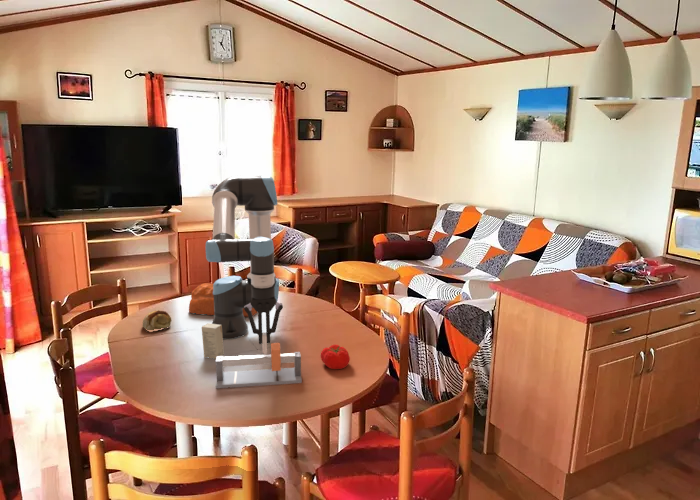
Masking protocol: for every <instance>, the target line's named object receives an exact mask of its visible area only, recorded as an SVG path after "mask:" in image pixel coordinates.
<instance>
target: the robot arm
mask: <svg viewBox="0 0 700 500" xmlns="http://www.w3.org/2000/svg"><path fill="white" fill-rule="evenodd" d="M211 203H212V206H213V208H214V209H213V222H212V223H213V226H212V239H209V240H206V242H205V259H206V261H207V262H209V263H230V262H231V263H232V262H249V263H250V272H249V273H248V274H247V275H246V279H244V280H243V278H242V277H241V276H240V275H229V276H225V277H221V278H218V279H217V280H215V281H214V283H212V284H213V296H214V316H213V319H212V323H211V324H219V325H222V336H223V340H228V339H229V340H230V339H231V340H232V339H237V338H241V337H243V335H244V336H245V335H247V334H248V332H249V326H248V324H247V322H246V317H244V315H243V308H244V310H245V311H246V313H247V314H248V317H247V318H248V321H249V324H250V327H251V330H252V334H254V335H257V336H258V344H259V345H262V355H267V354H268V344H271V334H274V333H276V332H277V331H276V330H277V325H278V322H279V318H280V314H281V311H282V310H283V307H284V305H283V303H281V302H279V301H278V300H279V292H280V279H279V278H278V277H277V278H276V273H275V268H274V267H275V258H274V257H275V254H274V253H275V252H274V251H275V246H274V241H273V239H272V233H271V232H272V230H271V229H272V228H271V227H272V224H271V213H273V211H274V210H275V206H277V205H278V196H277V189H276V185H275V179H274V178H273V177H272V176H268V175H245V176H243V175H242V176H241V175H237V176H236V175H235V176H230V177H227V178H226V179H224V180H223V181H221V182H220V183H219V184H218V185H217V186H216V188H215V189H214V191H213V193H212V197H211ZM238 206H242V207H243V206H244V211H245V212H246V213H247V214H248V229H249V233H248V235H249V238H241V239H240V238H238V239H237V238H236V208H237V207H238ZM274 307H275V312H274V317H273V321H272V326H271V317H270V313H271V311H272V310H273V308H274ZM252 308H254V309H255V310H256V311H257V320H258V321H257V325H258V328H257V325H256V322H255V319H254V316H253V315H252V312H251V310H252ZM264 313H265V330H266V332H263V317H262V316H263V314H264Z"/></svg>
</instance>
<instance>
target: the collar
mask: <svg viewBox="0 0 700 500" xmlns="http://www.w3.org/2000/svg"><path fill="white" fill-rule="evenodd" d="M270 354H271V359H272V364H271V369H272V371H281V368H282V367H281V366H282V365H281V364H282V363H281V355H280V354H281V343H280V342H272V343H271V342H270Z"/></svg>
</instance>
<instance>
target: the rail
mask: <svg viewBox="0 0 700 500" xmlns="http://www.w3.org/2000/svg"><path fill="white" fill-rule="evenodd" d="M280 355H281V364H287V363H288V364H292V363H293V366H294V367H293V368H294V372H295V376H301V377H302V362H301V361H302V354H301V352H300V351H293V352H290V353H280ZM256 365H257V366H258V365H272V359H271V353H270V354H268V353H267V354H254V355H253V354H252V355H250V354H249V355H238V356H237V355H236V356H235V355H232V356H224V355H223V356H217V358H216V359H215V371H216V372H215V373H216V375H215V376H216V382H217V381H223V377H224V372H225V371H224V368H225V367H241V366H256Z"/></svg>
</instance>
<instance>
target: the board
mask: <svg viewBox="0 0 700 500" xmlns="http://www.w3.org/2000/svg"><path fill="white" fill-rule="evenodd" d="M291 384H302V375H301V376H295V372H294V367H285V368H284V367H281V371H272V368H266V369H250V370H234V371H224V377H223V381H217V380H216V385H215V389H227V388H228V387H230V388H243V387H244V388H245V387H256V386H273V385H274V386H276V385H291Z"/></svg>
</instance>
